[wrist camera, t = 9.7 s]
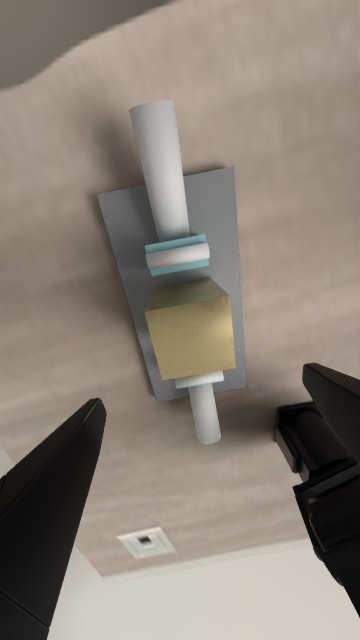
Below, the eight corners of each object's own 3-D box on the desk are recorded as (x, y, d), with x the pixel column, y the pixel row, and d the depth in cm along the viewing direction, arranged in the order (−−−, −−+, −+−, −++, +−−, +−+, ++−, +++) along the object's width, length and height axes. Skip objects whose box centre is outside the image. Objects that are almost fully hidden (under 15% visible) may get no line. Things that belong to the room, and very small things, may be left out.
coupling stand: (226, 119, 14) (255, 54, 9) (245, 401, 23) (263, 442, 19) (87, 148, 14) (43, 102, 9) (163, 414, 24) (160, 457, 19)
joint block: (211, 277, 17) (229, 296, 11) (217, 329, 19) (235, 368, 13) (153, 288, 17) (144, 311, 11) (165, 338, 19) (162, 380, 13)
